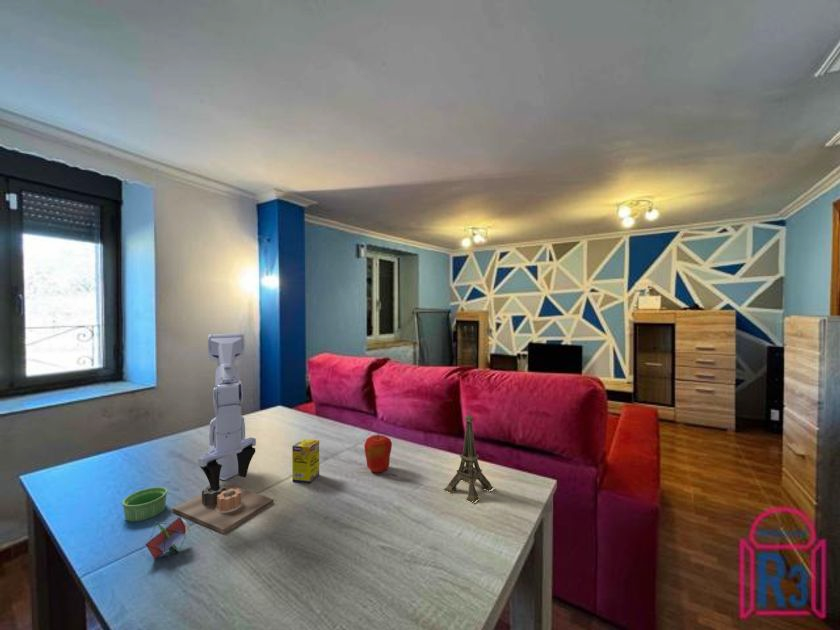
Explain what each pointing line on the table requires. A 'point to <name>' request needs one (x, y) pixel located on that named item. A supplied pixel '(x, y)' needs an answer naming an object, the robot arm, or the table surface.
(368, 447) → the apple
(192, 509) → the gear board
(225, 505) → the gear
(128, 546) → the table surface
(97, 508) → the table surface
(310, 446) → the supplement box
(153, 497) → the ramekin
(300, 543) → the table surface
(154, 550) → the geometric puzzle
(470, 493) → the eiffel tower
